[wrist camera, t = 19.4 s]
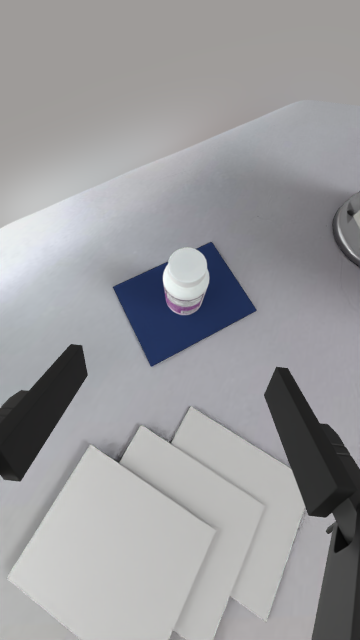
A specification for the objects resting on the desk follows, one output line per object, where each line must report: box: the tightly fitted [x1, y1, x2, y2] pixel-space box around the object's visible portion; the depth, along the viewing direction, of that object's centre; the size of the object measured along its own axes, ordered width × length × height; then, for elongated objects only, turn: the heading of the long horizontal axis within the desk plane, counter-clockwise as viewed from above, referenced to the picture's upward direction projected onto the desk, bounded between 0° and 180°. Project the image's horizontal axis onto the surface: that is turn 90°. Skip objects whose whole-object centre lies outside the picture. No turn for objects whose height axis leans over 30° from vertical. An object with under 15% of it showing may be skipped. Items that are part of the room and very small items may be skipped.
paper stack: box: [7, 406, 305, 640], centre depth 22 cm, size 23×25×1 cm
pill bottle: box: [163, 248, 209, 315], centre depth 25 cm, size 5×5×10 cm
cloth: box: [113, 242, 256, 366], centre depth 30 cm, size 17×13×1 cm
